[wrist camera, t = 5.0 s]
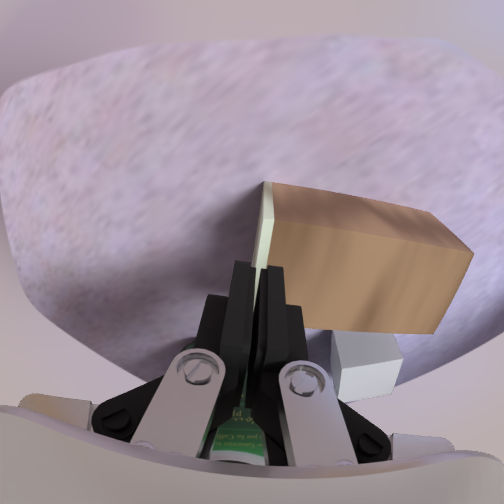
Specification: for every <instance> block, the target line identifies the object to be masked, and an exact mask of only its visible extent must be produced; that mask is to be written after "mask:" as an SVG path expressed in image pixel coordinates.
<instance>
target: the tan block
mask: <svg viewBox="0 0 504 504" xmlns="http://www.w3.org/2000/svg"><path fill="white" fill-rule="evenodd" d="M473 255H474V253H473V252H472V251H471V250H470V249H469V248H468V247H467V246H466V245H465V244H464V243H463V242H462V241H461V240H460V239H459V238H458V237H457V236H456V235H455V234H454V233H452V232H451V231H450V230H449V229H448V228H447V227H446V226H445V225H444V224H443V223H441V222H440V221H439V220H438V219H437V218H436V217H435V216H433V215H432V214H431V213H430V212H426V211H422V210H417V209H413V208H409V207H404V206H400V205H395V204H391V203H386V202H382V201H377V200H372V199H367V198H362V197H357V196H352V195H346V194H341V193H335V192H330V191H324V190H318V189H312V188H306V187H300V186H294V185H287V184H280V183H273V182H266V181H264V184H263V191H262V198H261V205H260V211H259V218H258V225H257V232H256V239H255V246H254V252H253V259H252V267H256V280H255V295H254V306H255V300H256V294H257V288H258V283H259V277H260V271H261V268H264V269H267V265H272V266H280V267H283V270H284V283H285V297H286V304H289V305H298V306H301V308H302V314H303V322H304V328H312V329H324V330H338V331H353V332H372V333H397V334H434V332H435V330H436V329H437V327H438V325H439V324H440V322H441V320H442V318H443V317H444V315H445V313H446V311H447V309H448V307H449V305H450V304H451V302H452V300H453V298H454V296H455V294H456V292H457V290H458V288H459V286H460V284H461V282H462V280H463V278H464V276H465V273H466V271H467V269H468V267H469V265H470V262H471V260H472V258H473ZM253 312H254V309H253Z"/></svg>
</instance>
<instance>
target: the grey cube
mask: <svg viewBox="0 0 504 504" xmlns="http://www.w3.org/2000/svg"><path fill="white" fill-rule="evenodd" d="M402 362H403V356H402V354H401V351H400V349H399V346H398V344H397V341H396V339H395V337H394V334H393V333H372V332H353V331H338V330H332V339H331V355H330V365H331V371H332V376H333V382H334V388H335V394H336V397H337V398H338V399H340V400H341V401H342V402H351V401H357V400H363V399H369V398H374V397H378V396H384V395H389V394H391V393H392V391H393V388H394V385H395V382H396V380H397V377H398V374H399V371H400V368H401V365H402Z"/></svg>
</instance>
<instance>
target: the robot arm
mask: <svg viewBox="0 0 504 504" xmlns="http://www.w3.org/2000/svg"><path fill="white" fill-rule="evenodd" d="M250 265H251V263H250V262H242V261H235V265H234V270H233V276H232V281H231V287H230V292H229V297H226V296H219V295H212V294H208V296H207V300H206V303H205V307H204V311H203V314H202V318H201V322H200V325H199V329H198V333H197V337H196V340H195V344H194V348H193V349H189V350H185V351H183V352H181V353H179V354H178V355H177V356H176V357H175V358H174V359H173V361H172V362H171V364H170V366H169V368H168V370H167V372H166V374H165V375H164V376H161V377H159V378H157V379H155V380H153V381H150V382H148V383H146V384H144V385H142V386H139V387H137V388H135V389H133V390H130V391H128V392H126V393H123V394H121V395H119V396H116V397H114V398H112V399H109V400H107V401H105V402H103V403H101V404H100V405H95V404H92V403H91V401H85V400H77V399H69V398H62V397H55V396H49V395H43V394H30V395H27V396H25V397H24V398H23V399H22V400H21V401H20V403H19V405H18V407H15V406H8V405H0V504H504V464H503V463H502V461H501V460H500V459H498V458H497V457H495V456H493V455H490V454H487V453H483V452H478V451H469V450H456V451H455V449H454V446H453V445H452V443H451V442H450V441H448V440H447V439H446V438H442V437H431V436H417V435H406V434H397V433H393V434H392V435H391V436H389V435H386V434H385V433H384V432H383V431H382V430H381V429H379V428H378V427H377V426H375V425H374V424H372V423H371V422H369V421H368V420H367V419H365V418H364V417H363V416H361V415H360V414H358V413H357V412H356V411H354V410H353V409H352V408H350V407H349V406H348V405H346V404H345V403H344V402H342V401H341V400H340V399H338V398H337V397H336V394H335V391H334V388H333V386H332V383H331V380H330V377H329V376H328V374H327V372H326V371H325V370H324V369H323V368H322V367H320V366H319V365H317V364H315V363H312V362H309V361H308V355H307V346H306V338H305V330H304V322H303V314H302V308H301V306H298V305H289V304H286V297H285V283H284V270H283V267H280V266H272V265H267V269H264V268H261V271H260V277H259V283H258V288H257V294H256V300H255V306H254V295H255V280H256V267H250ZM253 309H254V312H253ZM247 365H248V368H247ZM246 371H247V381H246V394H245V408H249V409H251V410H250V418H253V421H254V422H255V423H256V424H257V425H258V426H259V427H260V428H261V440H262V447H263V454H264V461H265V466H263V465H249V464H238V463H228V462H220V461H213V460H209V458H210V455H211V452H212V449H213V446H214V443H215V440H216V437H217V434H218V431H219V426H220V425H222V424H223V423H225V422H227V421H228V420H230V419H231V418H232V414H233V408H234V407H240V402H241V397H242V392H243V386H244V381H245V376H246Z"/></svg>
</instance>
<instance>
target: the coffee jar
mask: <svg viewBox="0 0 504 504" xmlns="http://www.w3.org/2000/svg"><path fill="white" fill-rule="evenodd" d="M194 344H195V342H193V343H191V344H189V345H187V346H186V347H185V348H183V349H182V351H181V352H183V351H185V350H189V349H193V348H194ZM181 352H180V353H181ZM247 368H248V365H247ZM246 381H247V371H246V376H245V381H244V386H243V392H242V397H241V402H240V407H234V408H233V414H232V418H231V419H230V420H228V421H227V422H225V423H223V424H222V425H220V426H219V431H218V434H217V437H216V440H215V443H214V446H213V449H212V452H211V455H210V458H209V460H213V461H220V462H228V463H238V464H249V465H263V466H265V461H264V454H263V447H262V440H261V428H260V427H259V426H258V425H257V424H256V423H255V422H254V421H253V418H250V410H251V409H249V408H245V394H246Z"/></svg>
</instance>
